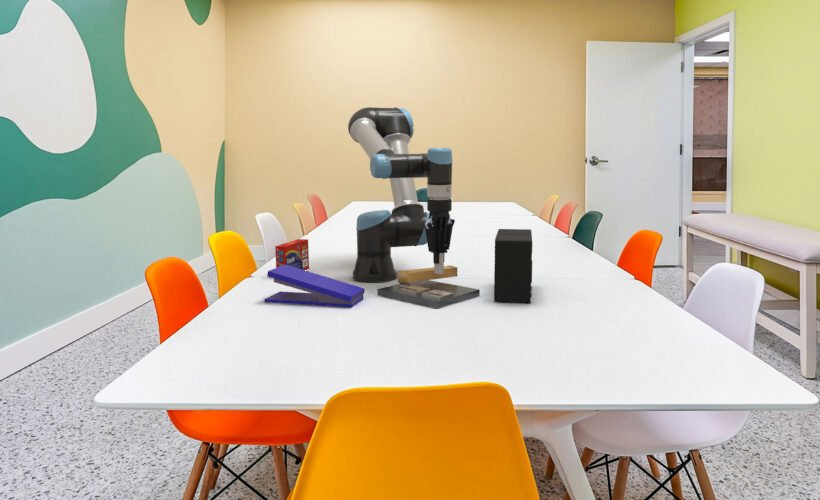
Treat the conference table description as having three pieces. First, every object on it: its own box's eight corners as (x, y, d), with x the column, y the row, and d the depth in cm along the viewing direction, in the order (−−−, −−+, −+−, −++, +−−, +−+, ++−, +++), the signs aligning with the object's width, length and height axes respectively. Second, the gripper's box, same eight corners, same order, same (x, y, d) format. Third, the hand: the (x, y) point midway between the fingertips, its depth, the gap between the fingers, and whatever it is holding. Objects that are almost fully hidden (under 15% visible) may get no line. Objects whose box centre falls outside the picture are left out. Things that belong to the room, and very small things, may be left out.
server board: (377, 295, 179) (377, 286, 179) (420, 284, 194) (420, 276, 194) (437, 308, 163) (437, 299, 163) (479, 295, 178) (479, 287, 177)
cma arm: (401, 284, 181) (401, 273, 180) (395, 281, 184) (395, 271, 184) (457, 276, 191) (457, 267, 190) (450, 274, 194) (450, 265, 193)
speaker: (531, 304, 168) (533, 240, 165) (493, 302, 170) (494, 239, 167) (530, 285, 192) (532, 229, 189) (497, 284, 194) (498, 228, 191)
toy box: (299, 269, 222) (298, 239, 220) (309, 269, 221) (308, 239, 219) (276, 278, 205) (275, 246, 203) (286, 279, 204) (285, 246, 202)
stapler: (281, 294, 183) (279, 264, 181) (366, 299, 176) (365, 267, 174) (263, 304, 172) (261, 271, 170) (352, 309, 165) (352, 275, 163)
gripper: (435, 200, 173) (434, 278, 177) (462, 197, 182) (460, 271, 187) (416, 199, 178) (416, 274, 182) (443, 196, 187) (442, 268, 192)
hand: (438, 273), depth 184 cm, fingers closed
